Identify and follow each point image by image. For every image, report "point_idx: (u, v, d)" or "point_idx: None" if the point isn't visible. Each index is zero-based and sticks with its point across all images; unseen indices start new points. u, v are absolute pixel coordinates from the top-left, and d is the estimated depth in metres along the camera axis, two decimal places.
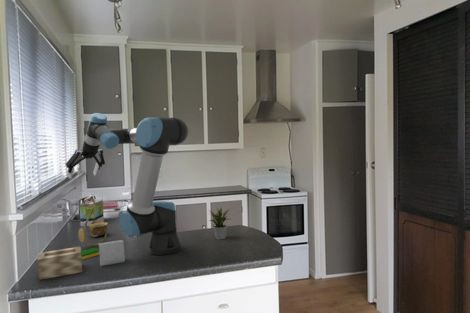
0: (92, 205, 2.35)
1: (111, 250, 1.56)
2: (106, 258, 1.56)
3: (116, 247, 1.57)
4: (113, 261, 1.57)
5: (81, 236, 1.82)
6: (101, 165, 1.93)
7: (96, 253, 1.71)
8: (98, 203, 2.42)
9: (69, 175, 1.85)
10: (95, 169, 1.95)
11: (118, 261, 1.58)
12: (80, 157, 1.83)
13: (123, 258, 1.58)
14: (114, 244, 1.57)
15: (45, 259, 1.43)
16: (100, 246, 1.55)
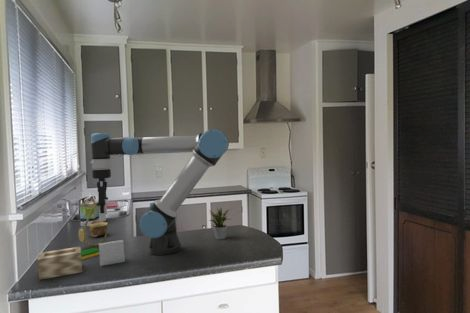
0: (92, 205, 2.35)
1: (111, 250, 1.56)
2: (106, 258, 1.56)
3: (116, 247, 1.57)
4: (113, 261, 1.57)
5: (81, 236, 1.82)
6: (107, 198, 1.67)
7: (96, 253, 1.71)
8: None
9: (102, 217, 1.52)
10: None
11: (118, 261, 1.58)
12: None
13: (123, 258, 1.58)
14: (114, 244, 1.57)
15: (45, 259, 1.43)
16: (100, 246, 1.55)
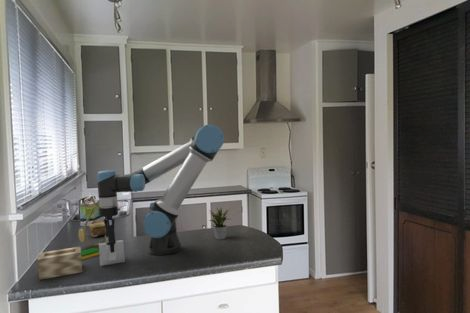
0: (92, 205, 2.35)
1: None
2: (106, 258, 1.56)
3: (116, 247, 1.57)
4: (113, 261, 1.57)
5: (81, 236, 1.82)
6: None
7: (96, 253, 1.71)
8: (98, 203, 2.42)
9: (112, 256, 1.51)
10: None
11: (118, 261, 1.58)
12: None
13: (123, 258, 1.58)
14: None
15: (45, 259, 1.43)
16: (100, 246, 1.55)
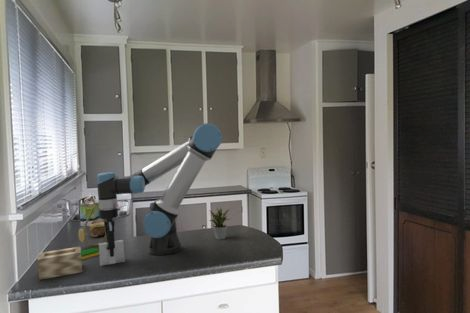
0: (92, 205, 2.35)
1: None
2: (106, 258, 1.56)
3: (116, 247, 1.57)
4: None
5: (81, 236, 1.82)
6: None
7: (96, 253, 1.71)
8: None
9: (112, 260, 1.56)
10: None
11: (118, 261, 1.58)
12: None
13: (123, 258, 1.58)
14: None
15: (45, 259, 1.43)
16: (100, 246, 1.55)
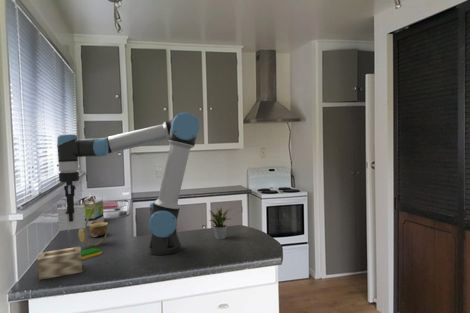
0: (92, 205, 2.35)
1: None
2: (65, 223, 1.49)
3: (76, 212, 1.51)
4: None
5: (81, 236, 1.82)
6: None
7: (96, 253, 1.71)
8: (98, 203, 2.42)
9: (71, 226, 1.50)
10: None
11: (78, 227, 1.51)
12: None
13: (83, 224, 1.52)
14: (74, 209, 1.50)
15: (45, 259, 1.43)
16: (59, 210, 1.48)
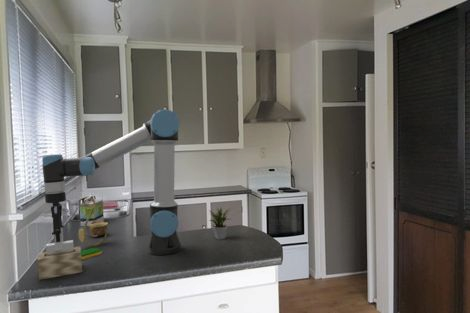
0: (92, 205, 2.35)
1: (59, 251, 1.48)
2: None
3: (65, 248, 1.49)
4: None
5: (81, 236, 1.82)
6: (63, 225, 1.56)
7: (96, 253, 1.71)
8: (98, 203, 2.42)
9: (58, 246, 1.45)
10: None
11: None
12: None
13: None
14: (63, 245, 1.48)
15: (45, 259, 1.43)
16: (47, 247, 1.46)
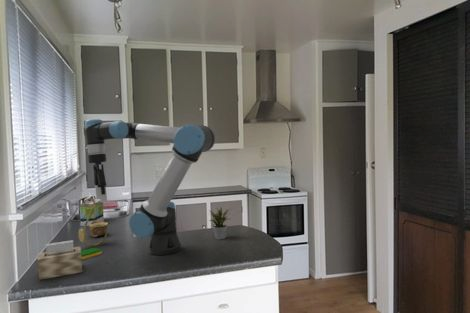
0: (92, 205, 2.35)
1: (59, 251, 1.48)
2: None
3: (65, 248, 1.49)
4: None
5: (81, 236, 1.82)
6: None
7: (96, 253, 1.71)
8: (98, 203, 2.42)
9: (103, 199, 1.59)
10: (98, 191, 1.71)
11: None
12: None
13: None
14: (63, 245, 1.49)
15: (45, 259, 1.43)
16: (47, 247, 1.47)
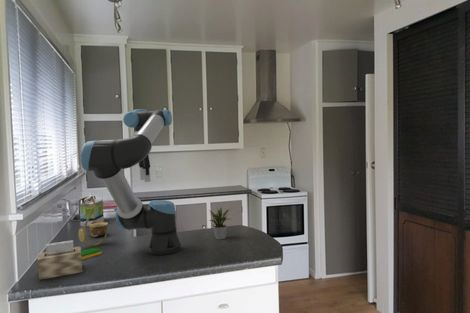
0: (92, 205, 2.35)
1: (59, 251, 1.48)
2: None
3: (65, 248, 1.49)
4: None
5: (81, 236, 1.82)
6: None
7: (96, 253, 1.71)
8: (98, 203, 2.42)
9: (147, 179, 1.82)
10: (142, 173, 1.94)
11: None
12: None
13: None
14: (63, 245, 1.49)
15: (45, 259, 1.43)
16: (47, 247, 1.47)
